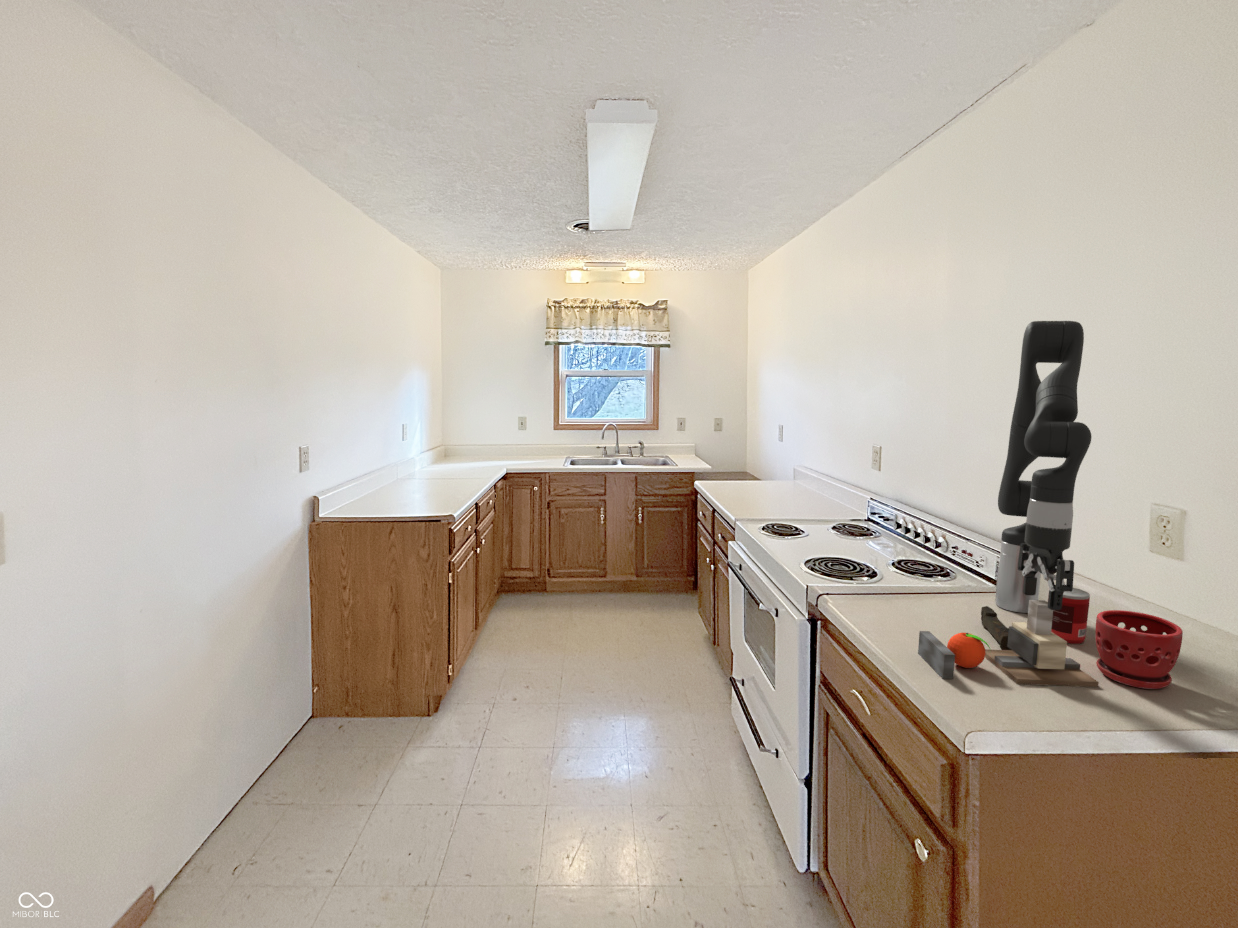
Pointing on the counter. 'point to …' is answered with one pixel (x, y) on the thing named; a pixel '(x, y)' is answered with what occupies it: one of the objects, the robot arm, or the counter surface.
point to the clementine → (967, 649)
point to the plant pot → (1137, 648)
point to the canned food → (1072, 616)
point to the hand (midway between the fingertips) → (1041, 601)
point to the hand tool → (995, 626)
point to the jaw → (1038, 638)
